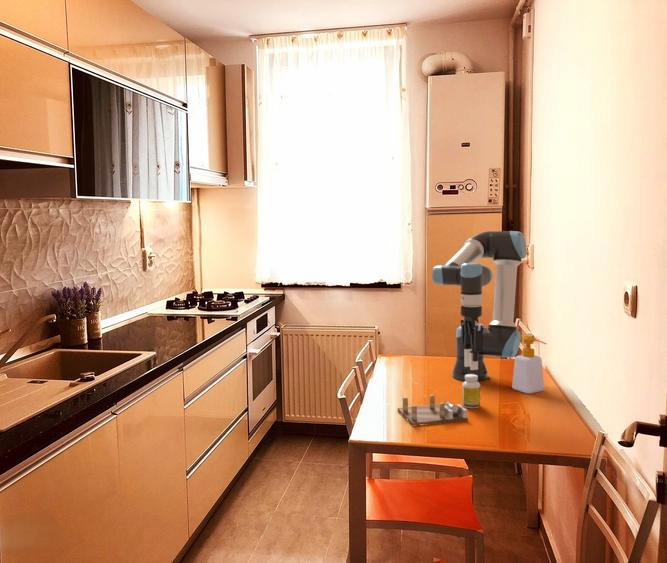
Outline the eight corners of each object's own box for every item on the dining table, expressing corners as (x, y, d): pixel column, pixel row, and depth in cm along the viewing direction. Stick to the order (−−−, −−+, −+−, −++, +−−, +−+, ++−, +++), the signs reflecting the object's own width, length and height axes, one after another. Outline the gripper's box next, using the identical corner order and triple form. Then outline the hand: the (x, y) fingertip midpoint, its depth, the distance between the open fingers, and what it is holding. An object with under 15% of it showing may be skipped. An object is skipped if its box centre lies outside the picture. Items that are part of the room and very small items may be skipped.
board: (397, 411, 209) (397, 394, 209) (448, 406, 213) (448, 390, 213) (412, 426, 194) (412, 408, 193) (467, 420, 198) (467, 403, 197)
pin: (444, 410, 205) (444, 401, 205) (451, 409, 206) (451, 401, 205) (452, 416, 198) (452, 408, 198) (460, 415, 199) (460, 407, 199)
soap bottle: (536, 398, 221) (537, 341, 218) (510, 389, 233) (510, 335, 231) (554, 394, 225) (555, 338, 223) (527, 385, 237) (528, 332, 235)
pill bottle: (480, 409, 209) (480, 378, 208) (462, 408, 210) (462, 377, 209) (479, 403, 216) (479, 373, 214) (462, 403, 217) (462, 373, 216)
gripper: (451, 302, 217) (452, 363, 219) (472, 309, 200) (472, 374, 202) (470, 301, 218) (470, 361, 221) (492, 308, 201) (491, 373, 204)
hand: (471, 367), depth 211 cm, fingers open, 4 cm apart
